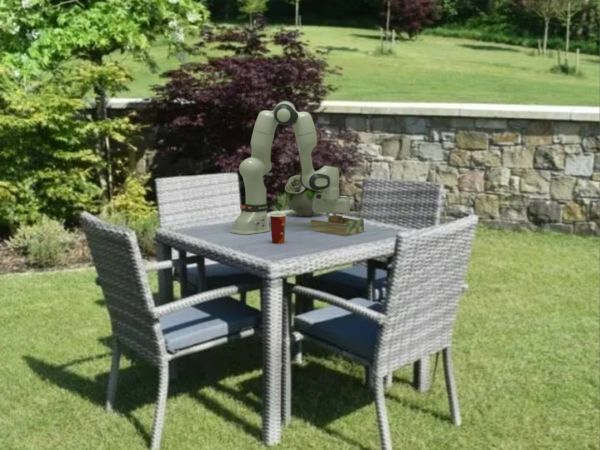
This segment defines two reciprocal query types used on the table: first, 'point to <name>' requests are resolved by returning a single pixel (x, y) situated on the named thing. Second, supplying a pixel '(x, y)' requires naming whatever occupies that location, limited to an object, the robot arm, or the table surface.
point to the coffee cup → (278, 226)
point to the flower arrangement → (300, 196)
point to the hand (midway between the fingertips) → (331, 220)
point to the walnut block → (337, 219)
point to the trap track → (338, 227)
